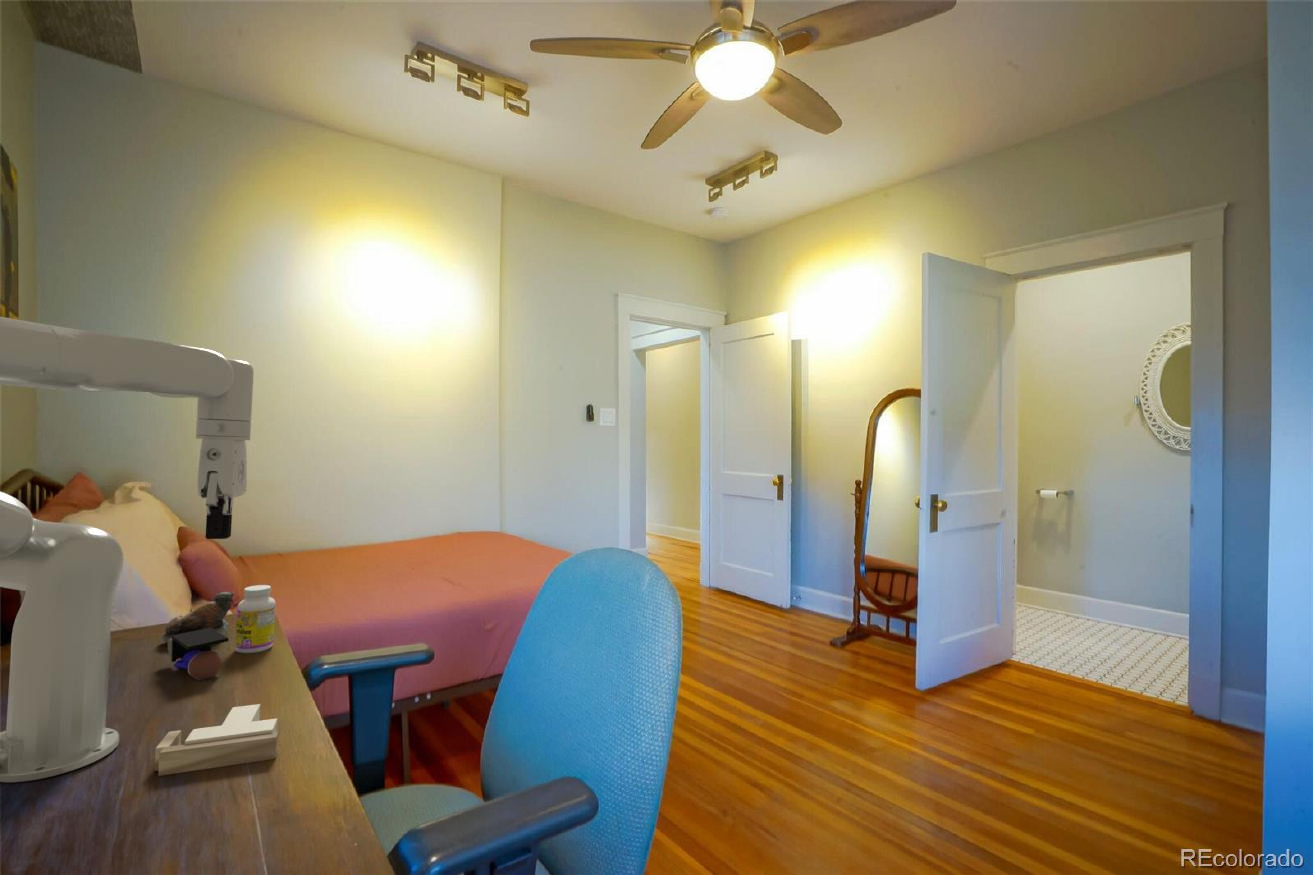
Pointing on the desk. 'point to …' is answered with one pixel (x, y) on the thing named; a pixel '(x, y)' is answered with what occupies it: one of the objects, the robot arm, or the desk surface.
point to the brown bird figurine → (202, 617)
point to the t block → (235, 726)
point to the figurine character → (197, 652)
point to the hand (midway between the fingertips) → (218, 538)
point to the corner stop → (212, 752)
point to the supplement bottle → (255, 620)
